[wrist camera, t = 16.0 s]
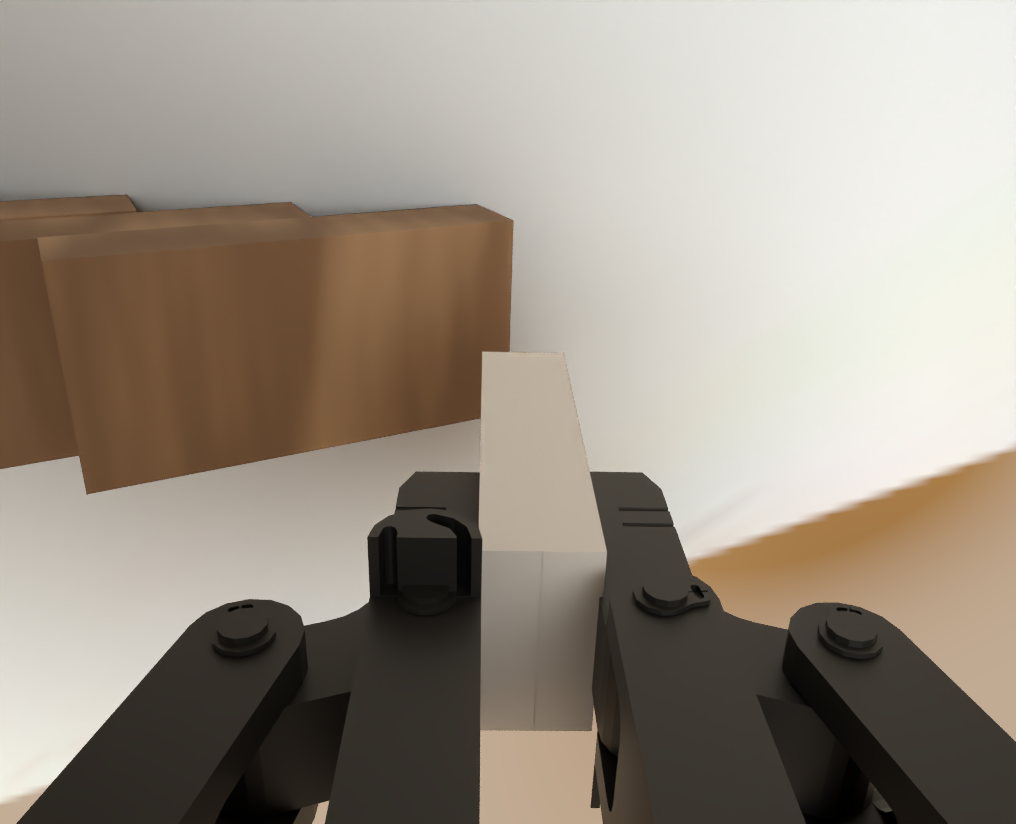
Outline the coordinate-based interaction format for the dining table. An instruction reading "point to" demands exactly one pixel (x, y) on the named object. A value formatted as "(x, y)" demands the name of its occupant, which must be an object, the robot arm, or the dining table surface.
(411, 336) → the domino
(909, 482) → the dining table surface
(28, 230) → the domino
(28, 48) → the dining table surface
